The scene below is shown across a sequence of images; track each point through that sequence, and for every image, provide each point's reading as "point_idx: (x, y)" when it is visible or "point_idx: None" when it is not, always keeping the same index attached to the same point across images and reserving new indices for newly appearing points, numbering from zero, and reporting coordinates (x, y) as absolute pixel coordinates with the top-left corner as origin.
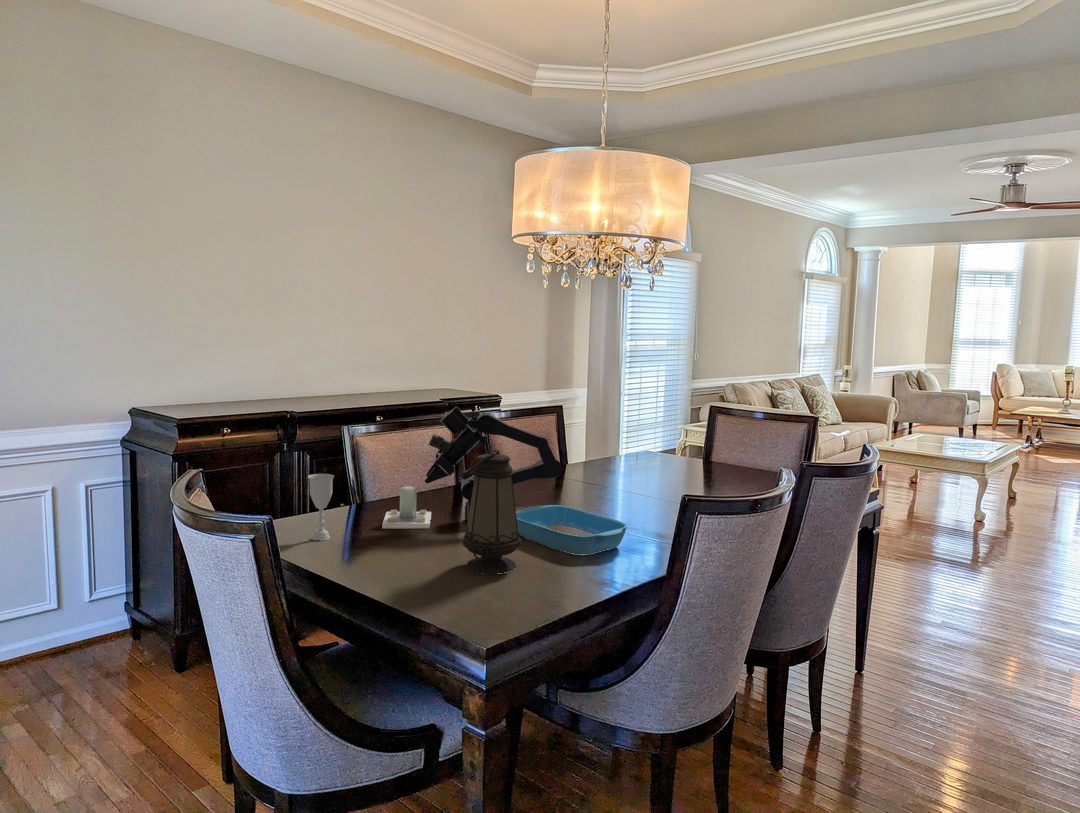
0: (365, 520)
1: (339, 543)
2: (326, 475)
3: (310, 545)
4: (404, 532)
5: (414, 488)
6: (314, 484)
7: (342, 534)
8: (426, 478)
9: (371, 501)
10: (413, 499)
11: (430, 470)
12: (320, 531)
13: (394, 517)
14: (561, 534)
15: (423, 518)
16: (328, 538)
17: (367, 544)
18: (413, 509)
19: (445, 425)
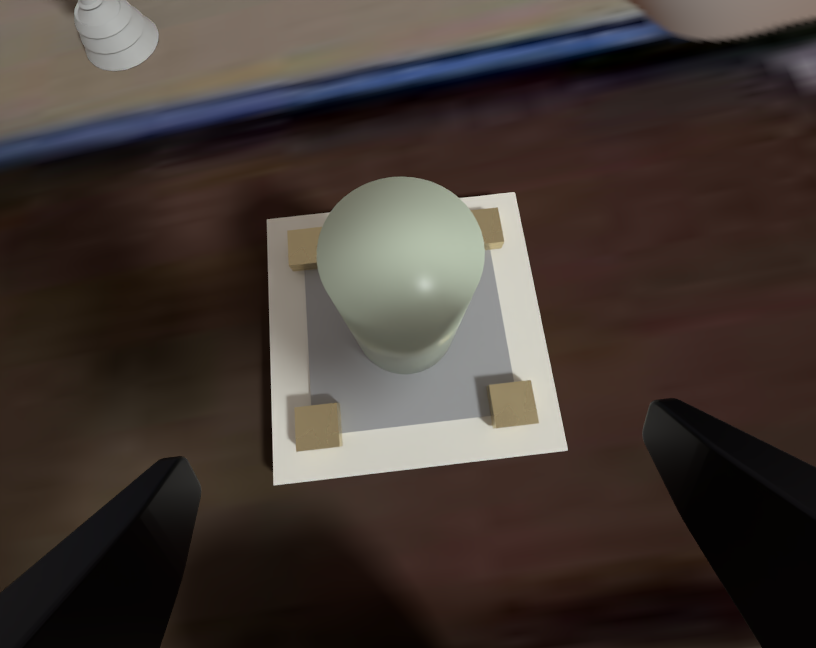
0: (416, 130)
1: (46, 117)
2: None
3: (34, 31)
4: (205, 353)
5: (395, 312)
6: None
7: (180, 96)
8: (115, 499)
9: (787, 77)
10: (359, 337)
11: (739, 487)
12: (79, 7)
13: None
14: None
15: (311, 438)
16: (101, 63)
17: (14, 225)
18: (370, 354)
19: None
